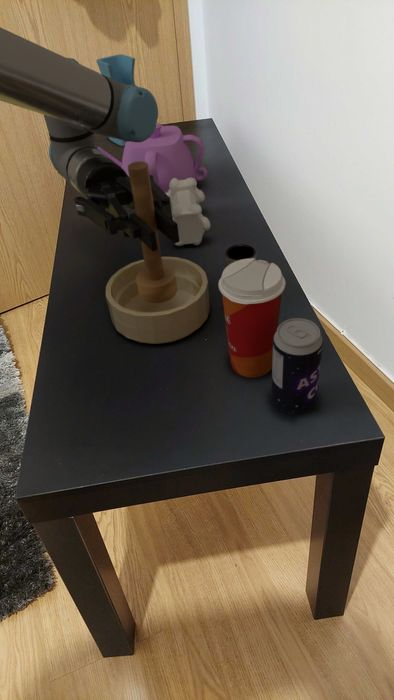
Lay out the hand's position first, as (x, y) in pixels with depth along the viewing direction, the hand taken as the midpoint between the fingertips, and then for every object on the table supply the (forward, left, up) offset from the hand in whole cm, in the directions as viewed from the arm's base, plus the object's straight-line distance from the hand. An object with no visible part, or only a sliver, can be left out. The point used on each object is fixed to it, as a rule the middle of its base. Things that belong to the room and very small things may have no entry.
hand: (164, 237), depth 67 cm
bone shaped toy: (+15, +28, -17) cm, 36 cm away
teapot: (+16, +49, -17) cm, 54 cm away
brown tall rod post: (0, +5, -12) cm, 13 cm away
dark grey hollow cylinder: (+12, 0, -17) cm, 20 cm away
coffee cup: (+7, -12, -17) cm, 21 cm away
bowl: (0, +5, -16) cm, 17 cm away
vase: (+22, +84, -17) cm, 89 cm away
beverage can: (+8, -21, -17) cm, 27 cm away
